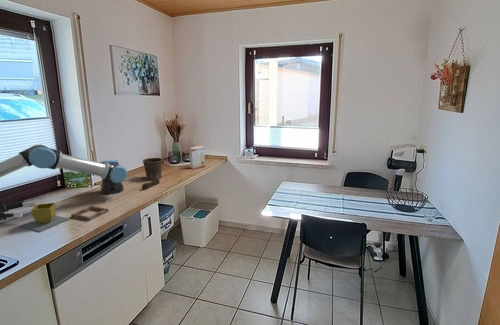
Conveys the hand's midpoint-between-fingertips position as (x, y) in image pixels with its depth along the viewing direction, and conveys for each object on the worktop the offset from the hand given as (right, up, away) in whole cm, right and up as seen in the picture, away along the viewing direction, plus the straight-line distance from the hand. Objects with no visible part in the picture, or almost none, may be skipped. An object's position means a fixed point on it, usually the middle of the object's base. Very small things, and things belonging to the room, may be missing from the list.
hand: (29, 208), depth 144 cm
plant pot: (+35, +11, +89) cm, 96 cm away
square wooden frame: (+23, -6, +15) cm, 29 cm away
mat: (+6, -8, +4) cm, 11 cm away
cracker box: (+65, +19, +126) cm, 143 cm away
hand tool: (+40, +5, +66) cm, 78 cm away
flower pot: (+6, -8, +4) cm, 11 cm away
